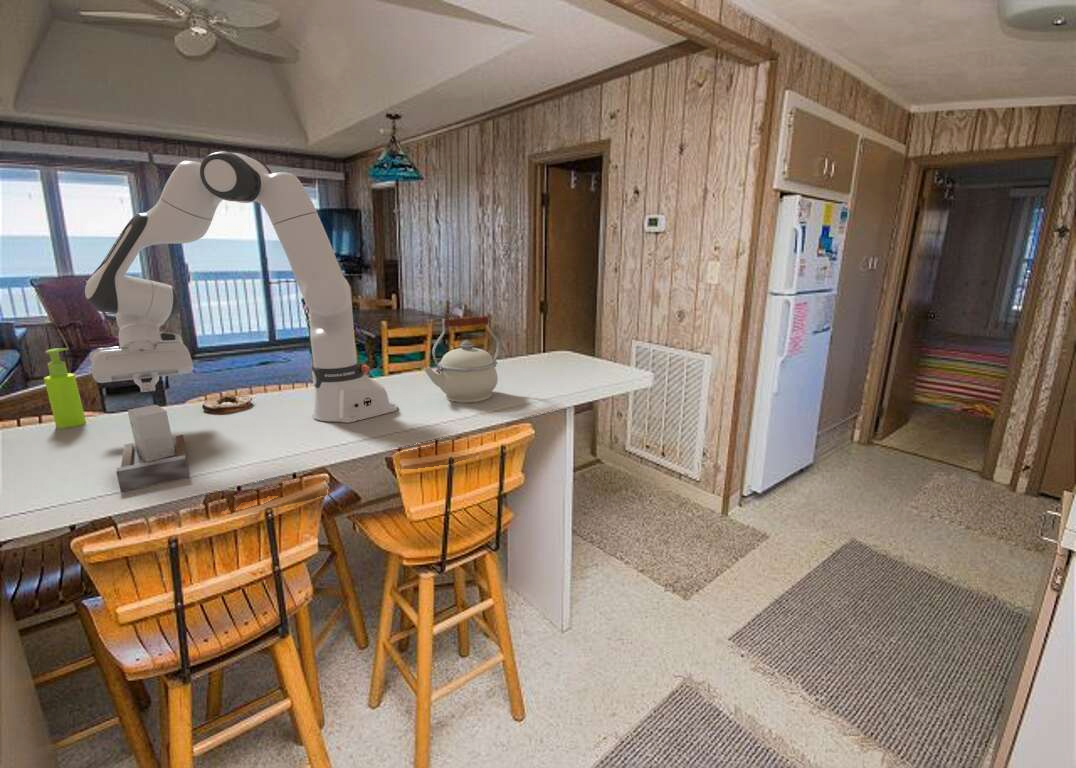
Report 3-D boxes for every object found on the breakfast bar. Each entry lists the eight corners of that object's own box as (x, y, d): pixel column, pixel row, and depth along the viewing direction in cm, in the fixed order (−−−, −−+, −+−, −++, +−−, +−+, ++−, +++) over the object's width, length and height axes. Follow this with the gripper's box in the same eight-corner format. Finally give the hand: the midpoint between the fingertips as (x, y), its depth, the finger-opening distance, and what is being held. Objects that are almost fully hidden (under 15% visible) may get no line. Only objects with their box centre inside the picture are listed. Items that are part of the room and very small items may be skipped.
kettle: (486, 385, 175) (484, 311, 168) (513, 398, 160) (512, 318, 153) (415, 396, 162) (410, 316, 155) (437, 411, 147) (432, 324, 140)
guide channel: (184, 442, 123) (181, 426, 122) (189, 476, 105) (185, 458, 104) (126, 452, 117) (122, 436, 116) (120, 490, 99) (116, 471, 98)
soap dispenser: (93, 418, 140) (76, 346, 135) (76, 427, 133) (57, 351, 128) (69, 420, 139) (51, 346, 134) (50, 428, 132) (30, 352, 127)
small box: (175, 455, 116) (167, 411, 113) (145, 463, 112) (135, 417, 109) (165, 446, 121) (157, 403, 118) (136, 453, 117) (127, 409, 114)
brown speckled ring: (187, 411, 148) (185, 397, 147) (239, 398, 160) (237, 385, 159) (215, 420, 140) (213, 405, 139) (267, 406, 153) (266, 392, 152)
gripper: (85, 341, 124) (90, 390, 119) (187, 334, 136) (195, 377, 130) (91, 356, 129) (96, 403, 124) (189, 348, 140) (197, 390, 135)
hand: (148, 390), depth 127 cm, fingers closed
